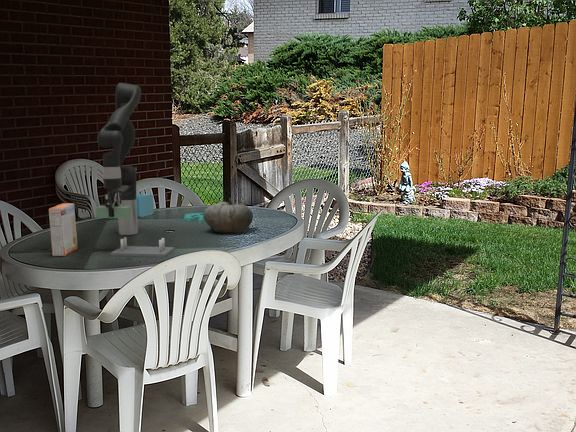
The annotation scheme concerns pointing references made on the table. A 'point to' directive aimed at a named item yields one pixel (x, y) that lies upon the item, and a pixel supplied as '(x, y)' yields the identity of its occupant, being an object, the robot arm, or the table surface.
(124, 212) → the green rectangular block
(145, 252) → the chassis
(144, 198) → the light blue block
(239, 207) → the gourd
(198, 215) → the alien figure
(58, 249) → the cracker box
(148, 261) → the table surface
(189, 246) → the table surface
